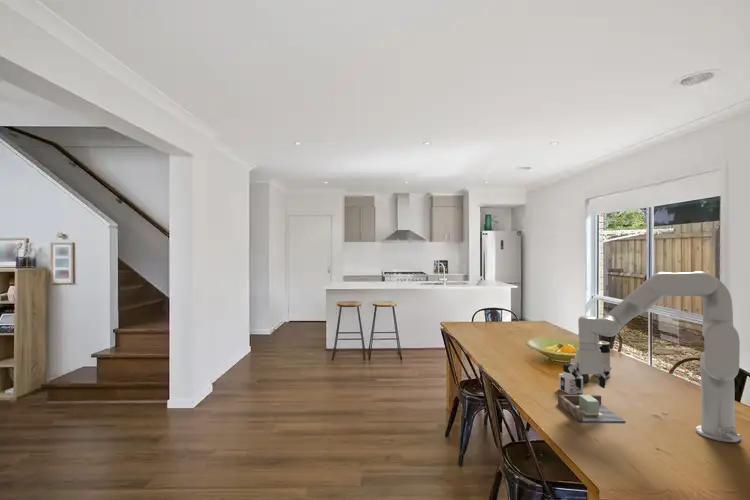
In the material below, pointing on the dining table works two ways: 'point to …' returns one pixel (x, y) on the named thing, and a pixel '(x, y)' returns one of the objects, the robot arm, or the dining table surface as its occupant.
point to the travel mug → (605, 355)
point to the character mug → (585, 376)
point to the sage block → (589, 404)
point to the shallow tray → (580, 415)
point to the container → (569, 381)
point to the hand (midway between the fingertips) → (590, 387)
